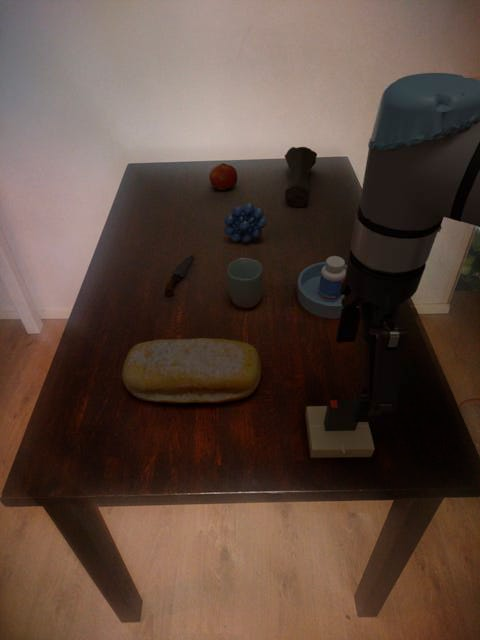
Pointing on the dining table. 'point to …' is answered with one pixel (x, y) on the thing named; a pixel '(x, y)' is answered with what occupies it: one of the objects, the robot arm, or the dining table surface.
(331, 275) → the pill bottle
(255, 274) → the cup
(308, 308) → the shallow blue dish
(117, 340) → the dining table surface
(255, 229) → the grapes
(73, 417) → the dining table surface
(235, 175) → the tomato
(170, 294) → the knife
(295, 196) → the scalloped vase
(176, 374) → the bread
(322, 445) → the tan flat block
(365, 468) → the dining table surface
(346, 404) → the black block red label
